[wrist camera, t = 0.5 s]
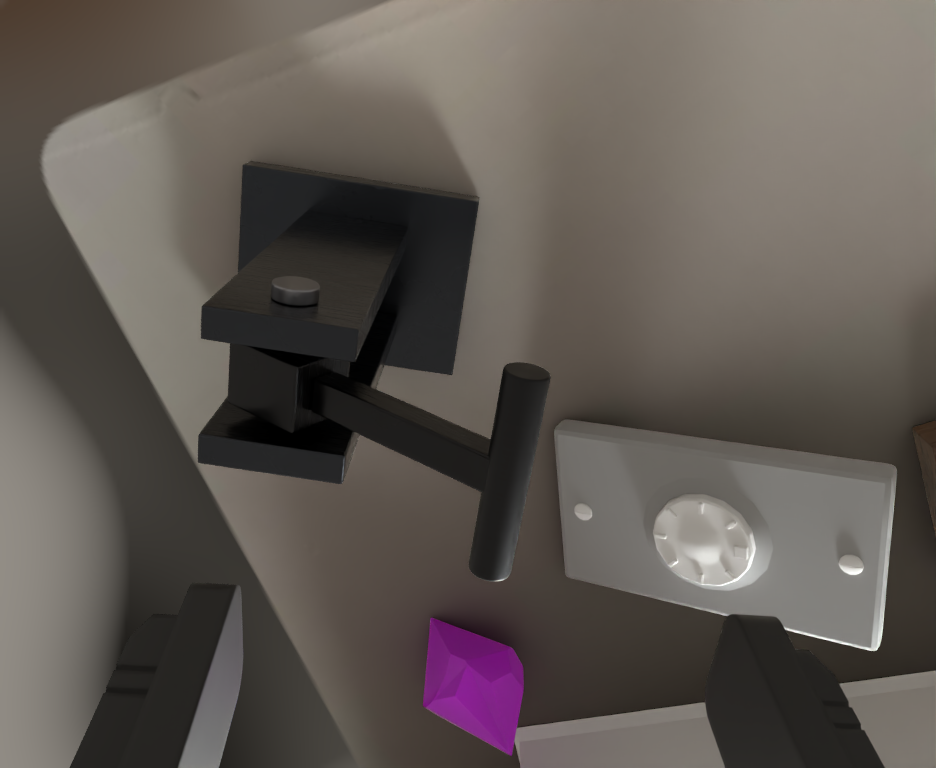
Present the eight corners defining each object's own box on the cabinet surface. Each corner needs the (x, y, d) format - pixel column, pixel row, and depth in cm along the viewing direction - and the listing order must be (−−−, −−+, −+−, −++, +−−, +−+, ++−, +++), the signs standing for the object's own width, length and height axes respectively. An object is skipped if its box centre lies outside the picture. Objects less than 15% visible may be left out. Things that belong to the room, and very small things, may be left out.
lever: (570, 367, 22) (523, 390, 20) (529, 560, 24) (483, 598, 22) (291, 264, 26) (231, 275, 25) (279, 434, 29) (224, 456, 27)
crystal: (527, 623, 45) (529, 684, 41) (511, 700, 47) (511, 767, 43) (431, 609, 45) (423, 670, 41) (419, 687, 47) (411, 753, 43)
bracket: (479, 196, 37) (466, 293, 23) (453, 366, 40) (428, 541, 26) (250, 160, 36) (99, 236, 23) (242, 333, 39) (104, 493, 26)
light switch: (542, 435, 39) (892, 488, 32) (593, 386, 44) (908, 423, 36) (556, 588, 42) (875, 669, 35) (601, 528, 47) (892, 587, 39)
